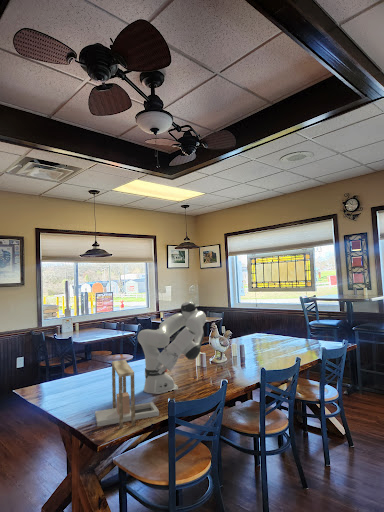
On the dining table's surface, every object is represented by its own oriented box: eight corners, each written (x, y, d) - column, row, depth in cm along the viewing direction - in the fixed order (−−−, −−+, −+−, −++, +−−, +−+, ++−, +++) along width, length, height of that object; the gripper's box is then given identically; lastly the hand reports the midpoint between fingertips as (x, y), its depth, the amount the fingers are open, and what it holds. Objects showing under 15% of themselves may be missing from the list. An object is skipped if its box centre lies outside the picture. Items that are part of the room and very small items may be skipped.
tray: (152, 406, 198) (152, 402, 198) (159, 415, 184) (159, 410, 185) (95, 416, 186) (95, 411, 187) (97, 426, 173) (97, 421, 173)
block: (127, 408, 189) (127, 392, 189) (129, 412, 183) (129, 395, 184) (116, 410, 187) (116, 393, 187) (118, 414, 181) (118, 397, 181)
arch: (126, 406, 199) (125, 359, 201) (135, 425, 173) (134, 372, 174) (112, 408, 196) (111, 361, 198) (120, 428, 170) (119, 374, 172)
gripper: (183, 359, 187) (166, 380, 184) (172, 351, 207) (156, 370, 203) (175, 352, 186) (158, 372, 182) (164, 345, 205) (149, 363, 201)
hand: (157, 371), depth 193 cm, fingers open, 6 cm apart
